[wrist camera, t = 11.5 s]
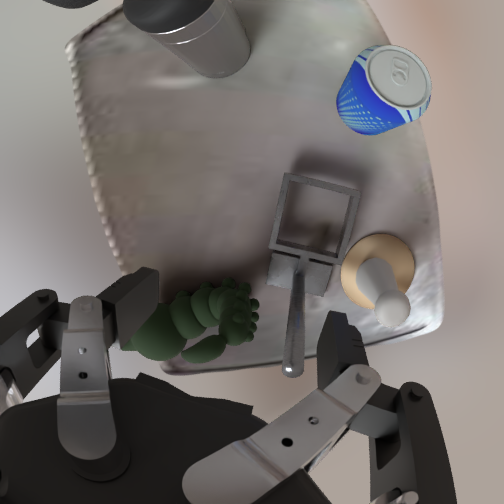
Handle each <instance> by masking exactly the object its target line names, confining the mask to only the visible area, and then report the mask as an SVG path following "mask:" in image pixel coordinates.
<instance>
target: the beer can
mask: <svg viewBox="0 0 504 504" xmlns="http://www.w3.org/2000/svg"><path fill="white" fill-rule="evenodd" d="M431 90H432V83H431V78H430V75H429V72H428V70H427V68H426V67H425V65H424V64H423V62H422V61H421V60H420V59H419V58H418V57H417V56H416V55H415V54H413V53H412V52H410V51H409V50H407V49H405V48H402V47H400V46H395V45H380V46H373V47H370V48H367V49H365V50H364V51H362V52H361V53H360V54H359V55H358V56H357V57H356V59H355V60H354V62H353V64H352V66H351V68H350V70H349V72H348V74H347V76H346V78H345V80H344V82H343V84H342V86H341V88H340V90H339V92H338V95H337V100H336V104H337V110H338V113H339V115H340V117H341V119H342V120H343V122H344V123H345V124H346V125H347V126H348V127H349V128H350V129H352V130H353V131H355V132H357V133H360V134H363V135H377V134H380V133H382V132H385V131H388V130H390V129H393V128H395V127H398V126H401V125H403V124H406V123H409V122H411V121H414V120H416V119H417V118H419V117H420V116H421V115H422V114H423V113H424V112H425V111H426V109H427V107H428V105H429V102H430V96H431Z"/></svg>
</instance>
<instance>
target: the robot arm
mask: <svg viewBox="0 0 504 504" xmlns="http://www.w3.org/2000/svg"><path fill="white" fill-rule="evenodd" d="M43 1H46V2H48V3H50V4H53V5H56V6H59V7H63V8H69V9H75V8H82V7H85V6H87V5H90V4H92V3H94V2H96V1H98V0H43ZM123 11H124V14H125V16H126V18H127V19H128V20H129V21H130V22H131V23H132V24H133V25H135V26H136V27H138V28H139V29H141V30H142V31H144V32H145V33H147V34H148V35H150V36H151V37H152V38H154V39H155V40H157V41H158V42H159V43H161V44H162V45H164V46H165V47H166V48H168V49H169V50H170V51H172V52H173V53H174V54H176V55H177V56H178V57H179V58H181V59H182V60H183V61H185V62H186V63H187V64H188V65H190V66H191V67H192V68H193V69H195V70H196V71H197V72H199V73H200V74H201V75H203V76H206V77H210V78H222V77H227V76H229V75H232V74H234V73H235V72H237V71H238V70H240V69H241V68H242V67H243V66H244V64H245V63H246V62H247V60H248V58H249V55H250V44H249V41H248V38H247V36H246V34H245V28H244V25H243V23H242V21H241V19H240V17H239V15H238V13H237V11H236V9H235V7H234V5H233V3H232V1H231V0H124V1H123ZM158 299H159V272H158V271H157V270H155V269H151V268H147V267H141V268H140V269H139V270H137V271H136V272H135V273H133V274H132V273H131V274H128V275H125V276H123V277H121V278H120V279H119V280H117V281H116V282H114V283H113V284H112V285H111V286H109V287H108V288H107V289H105V290H104V291H103V292H101V293H100V294H99V295H97V296H96V297H94V296H81V297H78V298H76V299H74V300H73V301H72V302H71V304H68V303H62V302H58V297H57V294H56V292H55V291H53V290H50V289H42V290H38V291H36V292H34V293H32V294H31V295H30V296H28V297H27V298H26V299H24V300H23V301H22V302H20V303H19V304H17V305H16V306H14V307H13V308H12V309H10V310H9V311H8V312H7V313H5V314H4V315H3V316H1V317H0V504H332V503H331V502H330V501H329V500H328V498H327V497H326V496H325V495H324V493H323V492H322V491H321V490H320V489H319V487H318V486H317V485H316V483H315V482H314V481H313V480H312V478H311V477H310V476H309V473H310V472H311V471H312V470H313V469H314V468H315V467H316V466H317V465H318V464H319V462H320V461H321V460H322V459H323V458H324V457H325V456H326V455H327V454H328V453H329V452H330V451H331V450H332V449H333V448H334V447H335V446H336V445H337V444H338V443H339V442H340V441H341V440H342V439H343V437H344V436H345V435H346V434H347V433H348V432H349V431H350V430H353V431H356V432H359V433H361V434H364V435H367V436H369V451H370V480H371V481H370V484H371V485H370V486H371V487H370V501H371V502H370V503H369V504H457V499H456V493H455V488H454V482H453V477H452V472H451V467H450V463H449V458H448V454H447V450H446V446H445V442H444V438H443V434H442V431H441V427H440V424H439V420H438V417H437V414H436V410H435V407H434V404H433V401H432V398H431V395H430V393H429V391H428V390H427V389H426V388H425V387H424V386H423V385H420V384H418V383H416V382H406V383H404V384H403V385H402V386H401V388H400V389H396V388H393V387H390V386H387V385H384V384H382V383H381V377H380V375H379V374H378V372H376V371H375V370H374V369H373V368H371V367H369V364H368V360H367V356H366V352H365V348H364V344H363V342H362V337H361V333H360V332H359V331H358V330H357V328H356V327H355V326H352V325H349V324H348V320H347V316H346V313H341V312H336V311H331V310H330V311H329V312H328V315H327V317H326V320H325V323H324V326H323V329H322V332H321V334H320V337H319V340H318V345H317V375H318V388H317V389H315V390H314V391H313V392H311V393H310V394H309V395H308V396H307V397H305V398H304V399H302V400H301V401H300V402H299V403H297V404H296V405H295V406H293V407H292V408H291V409H289V410H288V411H286V412H285V413H284V414H282V415H281V416H280V417H278V418H277V419H275V420H274V421H273V422H271V423H270V424H268V423H266V422H265V421H264V420H262V419H260V418H258V417H256V416H254V415H252V409H253V406H250V405H246V404H242V403H238V402H233V401H230V400H225V399H216V398H204V397H194V396H190V395H188V394H187V393H185V392H183V391H181V390H180V389H178V388H176V387H174V386H173V385H171V384H169V383H168V382H166V381H163V380H160V379H157V378H154V377H152V376H149V375H146V374H144V373H139V375H138V376H137V378H136V379H130V378H117V379H112V373H111V366H110V358H109V351H108V349H109V348H110V346H112V347H115V348H117V349H119V350H121V349H122V348H123V346H124V345H125V344H126V343H127V342H128V341H129V340H130V338H131V337H132V336H133V335H134V334H135V333H136V332H137V330H138V329H139V328H140V327H141V326H142V325H143V324H144V323H145V321H146V320H147V319H148V318H149V317H150V316H151V315H152V314H153V312H154V311H155V310H156V308H157V305H158ZM36 329H38V333H39V336H40V337H39V338H38V339H37V340H36V341H35V342H34V343H33V344H32V345H31V346H30V347H28V348H27V345H26V341H27V338H28V336H29V335H30V334H31V333H32V332H33V331H34V330H36ZM60 357H61V371H60V373H61V374H60V394H58V395H54V396H50V397H46V398H42V399H38V400H34V401H30V402H25V403H23V399H24V398H25V397H26V396H27V395H28V393H29V392H30V391H31V390H32V389H33V388H34V387H35V385H36V384H37V383H38V382H39V380H41V378H42V377H43V376H44V375H45V374H46V373H47V372H48V371H49V369H50V368H51V367H52V366H53V365H54V364H55V363H56V362H57V361H58V360H59V359H60Z"/></svg>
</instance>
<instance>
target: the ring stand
mask: <svg viewBox="0 0 504 504" xmlns="http://www.w3.org/2000/svg"><path fill="white" fill-rule="evenodd" d="M290 181H294V182H299V183H303V184H307V185H312V186H316V187H320V188H324V189H328V190H332V191H336V192H340V193H343V194H347V195H351V196H350V200H349V204H348V208H347V212H346V216H345V220H344V224H343V227H342V231H341V235H340V239H339V242H338V246H337V249H336V253H334V252H330V251H325V250H321V249H317V248H313V247H309V246H305V245H300V244H296V243H292V242H287V241H283V240H279V239H277V238H278V233H279V229H280V224H281V219H282V215H283V210H284V205H285V201H286V196H287V191H288V187H289V182H290ZM360 196H361V192H360V191H358V190H355V189H351V188H348V187H344V186H340V185H336V184H332V183H328V182H324V181H320V180H316V179H312V178H308V177H303V176H299V175H295V174H290V173H284V177H283V182H282V186H281V191H280V196H279V201H278V206H277V210H276V215H275V220H274V225H273V229H272V234H271V239H270V243H269V248H270V249H274V250H278V251H283V252H287V253H291V254H295V255H300V257H298V256H294V255H290V254H286V253H281V252H277V251H273V253H272V257H271V261H270V266H269V270H268V275H267V279H266V284H270V285H274V286H278V287H282V288H286V289H291V296H290V306H289V315H288V324H287V332H286V341H285V349H284V357H283V364H282V372H283V374H284V375H285V376H287V377H291V378H296V377H298V376H300V375H302V373H303V371H304V346H305V293H308V294H313V295H317V296H321V297H323V296H324V293H325V290H326V287H327V283H328V280H329V277H330V274H331V270H332V267H333V266H332V264H328V263H324V262H320V261H315V260H311V259H309V258H312V259H317V260H321V261H325V262H329V263H334V264H338V265H342V262H343V259H344V255H345V252H346V249H347V245H348V242H349V238H350V234H351V231H352V227H353V223H354V219H355V216H356V212H357V208H358V204H359V200H360Z"/></svg>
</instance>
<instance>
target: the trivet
mask: <svg viewBox="0 0 504 504" xmlns="http://www.w3.org/2000/svg"><path fill="white" fill-rule="evenodd" d="M376 257H377V258H380V259H384V260H386V261H387V262H388V263H389V264H390V265H391V266H392V269H393V272H394V276H395V279H396V282H397V286H398V290H399V291H401V292H402V293H404V294H405V293H406V291H407V290H408V288H409V287H410V285H411V282H412V279H413V276H414V260H413V256H412V254H411V252H410V250H409V248H408V247H407V246H406V245H405V244H404V243H403V242H402V241H401V240H399V239H398V238H396V237H394V236H391V235H388V234H374V235H370V236H367V237H365V238H363V239H361V240H360V241H358V242H357V243H356V244H354V245H353V246H352V247H351V249H350V250H349V251H348V253H347V254H346V256H345V258H344V260H343V263H342V267H341V282H342V286H343V289H344V291H345V293H346V295H347V296H348V297H349V298H350V300H351V301H353V302H354V303H355V304H357V305H359V306H361V307H364V308H369V309H374V308H375V305H374V304H373V303H372V302H371V301H370V300H369V299H368V298H367V297H366V296H365V295H364V294H363V293H362V292H361V291H360V290H359V289H358V287H357V284H356V272H357V270H358V269H359V267H360V265H361V264H362V263H364V262H365V261H366V260H368V259H372V258H376Z"/></svg>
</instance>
